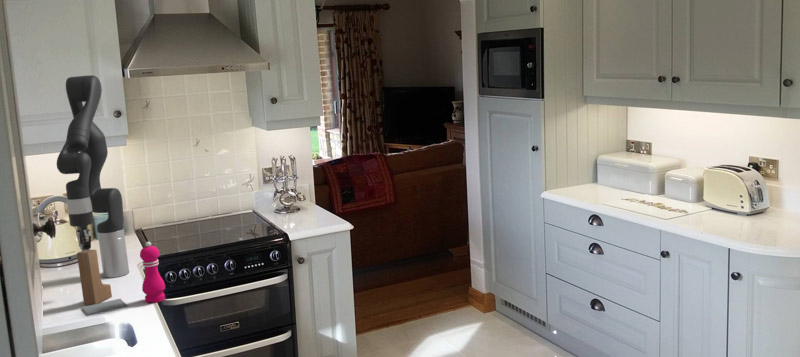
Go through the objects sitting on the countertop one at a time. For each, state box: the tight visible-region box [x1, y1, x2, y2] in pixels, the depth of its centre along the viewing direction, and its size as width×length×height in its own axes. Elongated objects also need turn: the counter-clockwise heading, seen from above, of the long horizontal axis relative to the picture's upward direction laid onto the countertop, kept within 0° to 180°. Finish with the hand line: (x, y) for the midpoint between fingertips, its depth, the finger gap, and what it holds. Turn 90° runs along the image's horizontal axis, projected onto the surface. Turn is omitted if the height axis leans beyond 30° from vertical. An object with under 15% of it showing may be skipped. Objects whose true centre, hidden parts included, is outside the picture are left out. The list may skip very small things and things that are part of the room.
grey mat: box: [81, 298, 128, 316], centre depth 233 cm, size 8×12×1 cm
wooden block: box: [76, 249, 113, 306], centre depth 239 cm, size 9×4×18 cm, turn 166°
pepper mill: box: [139, 241, 166, 304], centre depth 236 cm, size 7×7×20 cm
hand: (86, 260), depth 246 cm, fingers closed
